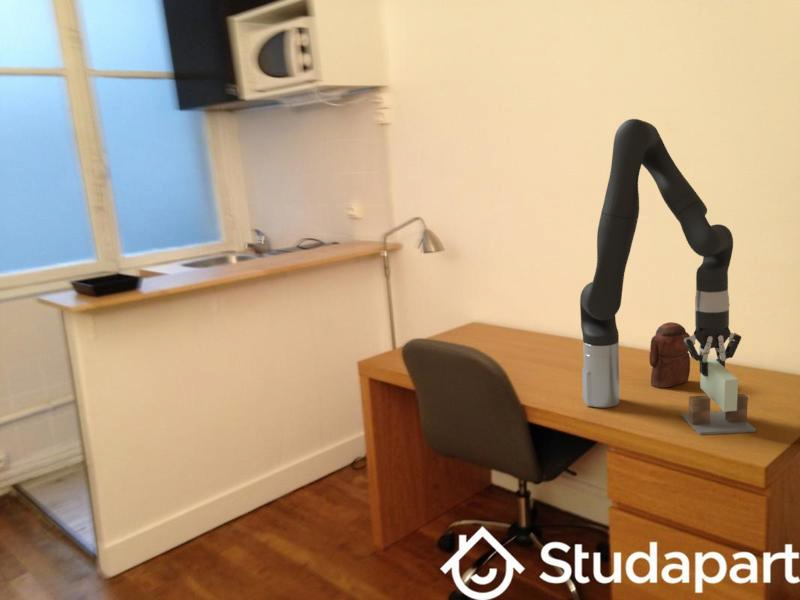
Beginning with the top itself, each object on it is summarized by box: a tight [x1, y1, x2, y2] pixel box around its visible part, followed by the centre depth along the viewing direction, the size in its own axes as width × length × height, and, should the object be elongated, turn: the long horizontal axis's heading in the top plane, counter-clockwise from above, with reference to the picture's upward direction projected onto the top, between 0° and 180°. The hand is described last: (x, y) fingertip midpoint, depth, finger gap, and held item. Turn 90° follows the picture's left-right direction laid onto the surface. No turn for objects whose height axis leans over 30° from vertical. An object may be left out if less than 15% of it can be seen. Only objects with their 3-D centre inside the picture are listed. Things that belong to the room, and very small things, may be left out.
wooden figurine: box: [649, 321, 691, 389], centre depth 198 cm, size 12×6×18 cm, turn 115°
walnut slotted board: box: [688, 393, 749, 425], centre depth 169 cm, size 13×2×6 cm, turn 87°
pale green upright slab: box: [699, 357, 739, 412], centre depth 169 cm, size 3×14×8 cm, turn 178°
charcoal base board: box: [681, 411, 757, 436], centre depth 170 cm, size 13×12×1 cm
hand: (712, 374), depth 172 cm, fingers closed on pale green upright slab, 3 cm apart
